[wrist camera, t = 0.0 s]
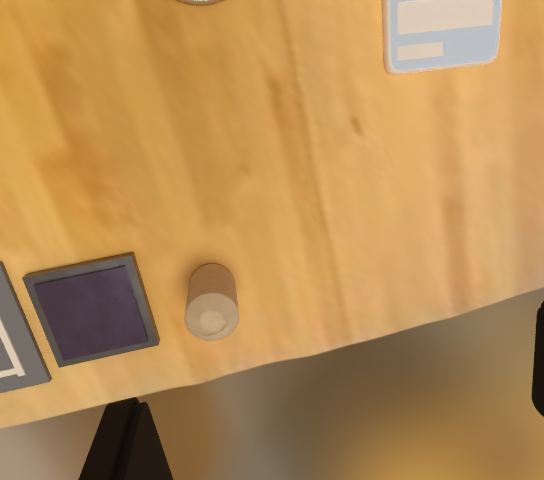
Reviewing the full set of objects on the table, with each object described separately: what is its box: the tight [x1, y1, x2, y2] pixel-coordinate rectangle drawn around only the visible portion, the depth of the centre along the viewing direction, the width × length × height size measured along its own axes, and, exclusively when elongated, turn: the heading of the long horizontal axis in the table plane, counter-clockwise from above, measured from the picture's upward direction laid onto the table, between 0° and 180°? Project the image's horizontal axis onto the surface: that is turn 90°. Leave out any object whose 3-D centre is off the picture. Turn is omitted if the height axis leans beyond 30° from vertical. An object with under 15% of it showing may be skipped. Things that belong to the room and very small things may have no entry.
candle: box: [185, 264, 239, 341], centre depth 42 cm, size 6×6×10 cm
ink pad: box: [22, 252, 160, 367], centre depth 45 cm, size 12×12×2 cm
